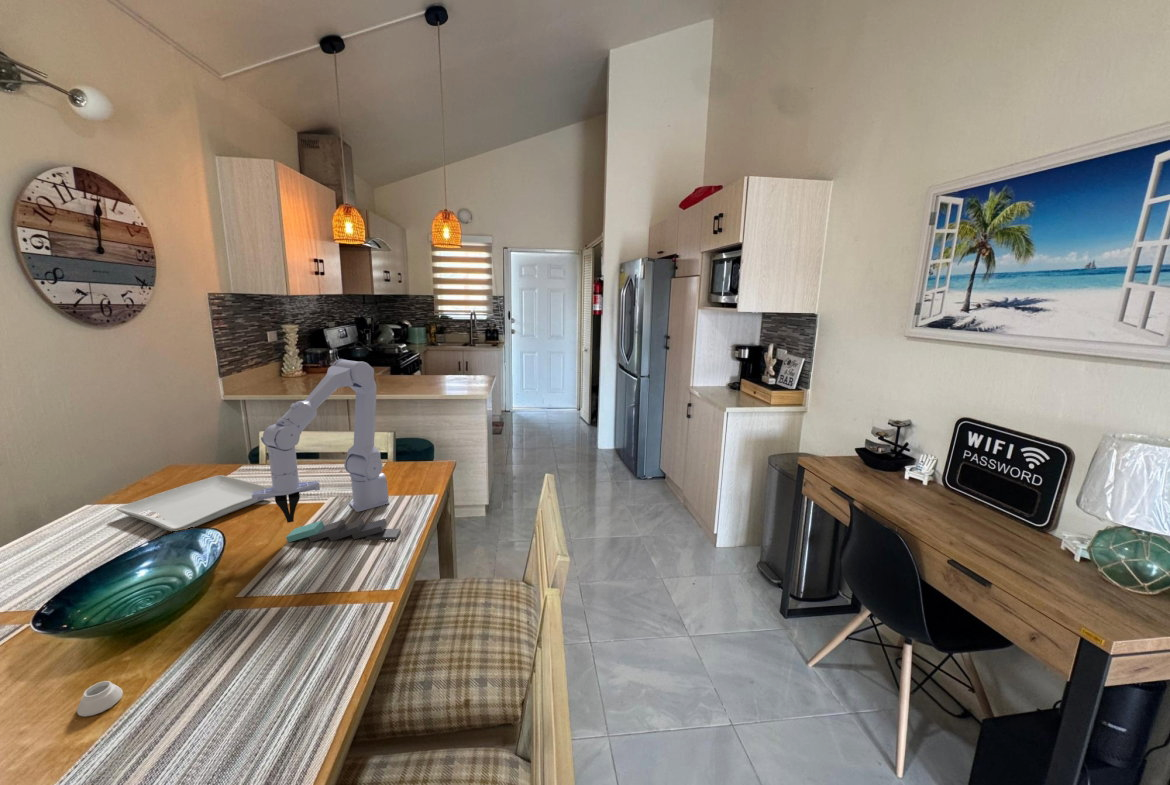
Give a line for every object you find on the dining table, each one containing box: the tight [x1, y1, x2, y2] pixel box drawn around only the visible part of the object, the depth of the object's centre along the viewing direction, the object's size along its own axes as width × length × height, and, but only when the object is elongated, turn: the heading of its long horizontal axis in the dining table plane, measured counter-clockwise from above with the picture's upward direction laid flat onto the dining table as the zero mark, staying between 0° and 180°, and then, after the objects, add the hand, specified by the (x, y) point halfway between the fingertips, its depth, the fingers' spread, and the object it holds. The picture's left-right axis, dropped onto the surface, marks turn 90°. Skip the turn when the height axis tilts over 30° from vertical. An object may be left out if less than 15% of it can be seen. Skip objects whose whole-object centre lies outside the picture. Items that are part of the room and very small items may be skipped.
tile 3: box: [328, 518, 366, 542], centre depth 125 cm, size 2×4×8 cm
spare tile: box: [285, 520, 325, 543], centre depth 124 cm, size 2×4×8 cm
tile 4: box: [307, 519, 346, 543], centre depth 124 cm, size 2×4×8 cm
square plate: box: [115, 474, 270, 532], centre depth 139 cm, size 27×27×4 cm
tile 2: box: [351, 518, 387, 540], centre depth 126 cm, size 2×4×8 cm
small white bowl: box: [76, 680, 124, 717], centre depth 74 cm, size 5×3×5 cm
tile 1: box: [365, 528, 402, 542], centre depth 126 cm, size 2×4×8 cm
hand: (290, 520), depth 123 cm, fingers closed
